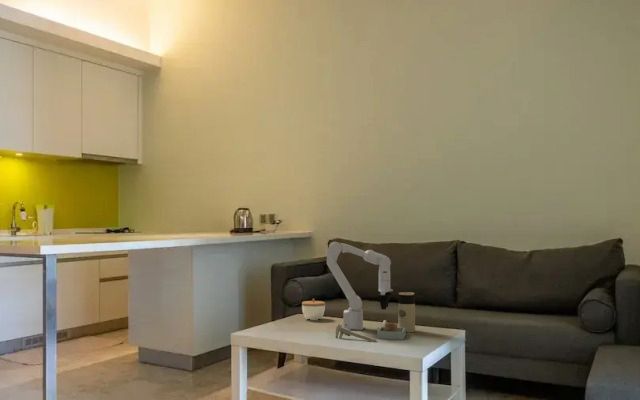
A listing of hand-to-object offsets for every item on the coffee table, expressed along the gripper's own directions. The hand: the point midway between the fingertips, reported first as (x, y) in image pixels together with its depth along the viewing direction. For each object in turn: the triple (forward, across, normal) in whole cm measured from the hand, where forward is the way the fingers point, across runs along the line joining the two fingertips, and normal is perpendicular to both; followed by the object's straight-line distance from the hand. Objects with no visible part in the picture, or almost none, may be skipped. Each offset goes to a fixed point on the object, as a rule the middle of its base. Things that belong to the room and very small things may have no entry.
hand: (384, 308), depth 274 cm
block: (+9, -19, -6) cm, 22 cm away
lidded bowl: (+10, +19, +41) cm, 46 cm away
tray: (+10, -19, -6) cm, 22 cm away
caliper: (+10, -30, +9) cm, 33 cm away
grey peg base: (+10, -7, -1) cm, 12 cm away
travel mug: (+10, -4, -11) cm, 15 cm away
